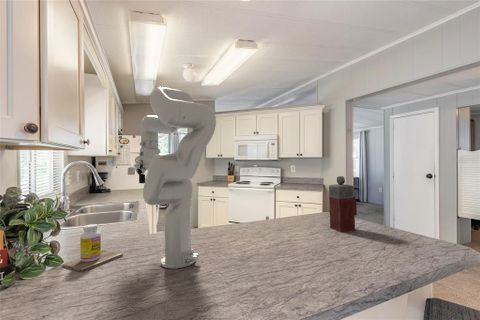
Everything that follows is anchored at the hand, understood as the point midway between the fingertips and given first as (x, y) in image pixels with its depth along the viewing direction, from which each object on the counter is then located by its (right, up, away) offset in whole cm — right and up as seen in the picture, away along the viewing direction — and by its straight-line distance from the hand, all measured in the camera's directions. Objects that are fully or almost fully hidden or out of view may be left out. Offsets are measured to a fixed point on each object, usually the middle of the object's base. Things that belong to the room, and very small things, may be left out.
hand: (150, 182), depth 114 cm
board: (-14, -28, -20) cm, 37 cm away
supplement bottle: (-16, -28, -20) cm, 38 cm away
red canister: (+97, -26, +16) cm, 102 cm away
